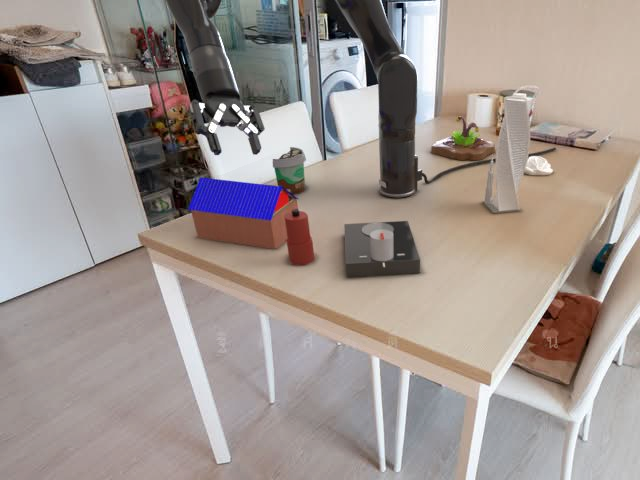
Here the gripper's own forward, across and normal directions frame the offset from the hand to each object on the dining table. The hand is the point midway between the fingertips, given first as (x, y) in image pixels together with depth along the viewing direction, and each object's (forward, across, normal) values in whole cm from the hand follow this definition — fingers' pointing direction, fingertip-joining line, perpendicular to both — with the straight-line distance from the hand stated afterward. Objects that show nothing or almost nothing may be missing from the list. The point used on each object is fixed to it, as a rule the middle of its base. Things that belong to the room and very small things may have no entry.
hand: (238, 153), depth 94 cm
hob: (+29, +15, -16) cm, 36 cm away
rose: (+15, +84, -19) cm, 87 cm away
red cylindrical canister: (+25, +3, -6) cm, 26 cm away
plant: (-1, +86, +6) cm, 86 cm away
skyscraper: (+25, +54, -23) cm, 64 cm away
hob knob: (+29, +11, -21) cm, 38 cm away
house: (+15, +2, +10) cm, 18 cm away
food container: (+3, +25, +20) cm, 32 cm away
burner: (+23, +18, -14) cm, 33 cm away
